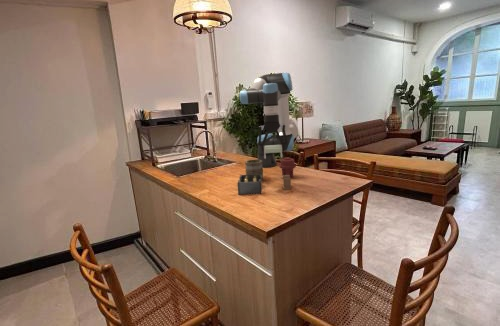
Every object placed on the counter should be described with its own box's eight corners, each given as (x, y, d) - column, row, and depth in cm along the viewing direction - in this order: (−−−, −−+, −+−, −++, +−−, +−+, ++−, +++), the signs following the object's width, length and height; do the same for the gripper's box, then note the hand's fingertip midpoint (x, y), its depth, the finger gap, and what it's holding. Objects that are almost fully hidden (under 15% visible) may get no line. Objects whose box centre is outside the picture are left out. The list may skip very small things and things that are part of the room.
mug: (262, 183, 160) (261, 163, 157) (244, 183, 162) (243, 163, 159) (265, 175, 175) (264, 157, 172) (249, 176, 177) (248, 157, 174)
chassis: (240, 185, 157) (240, 174, 156) (261, 184, 156) (261, 173, 155) (238, 194, 141) (237, 182, 140) (261, 194, 141) (260, 181, 139)
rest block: (283, 185, 152) (282, 175, 151) (289, 185, 152) (289, 174, 151) (284, 189, 145) (283, 179, 143) (291, 189, 144) (290, 178, 143)
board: (265, 149, 150) (265, 145, 150) (279, 148, 150) (279, 144, 149) (265, 153, 138) (265, 149, 138) (281, 152, 138) (281, 148, 138)
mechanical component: (298, 176, 169) (291, 180, 161) (284, 174, 175) (276, 178, 167) (298, 156, 166) (290, 160, 158) (284, 155, 172) (275, 158, 164)
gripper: (251, 116, 137) (253, 160, 142) (292, 113, 136) (293, 157, 141) (251, 115, 144) (253, 157, 149) (290, 112, 143) (291, 155, 148)
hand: (273, 157), depth 145 cm, fingers closed on board, 8 cm apart
